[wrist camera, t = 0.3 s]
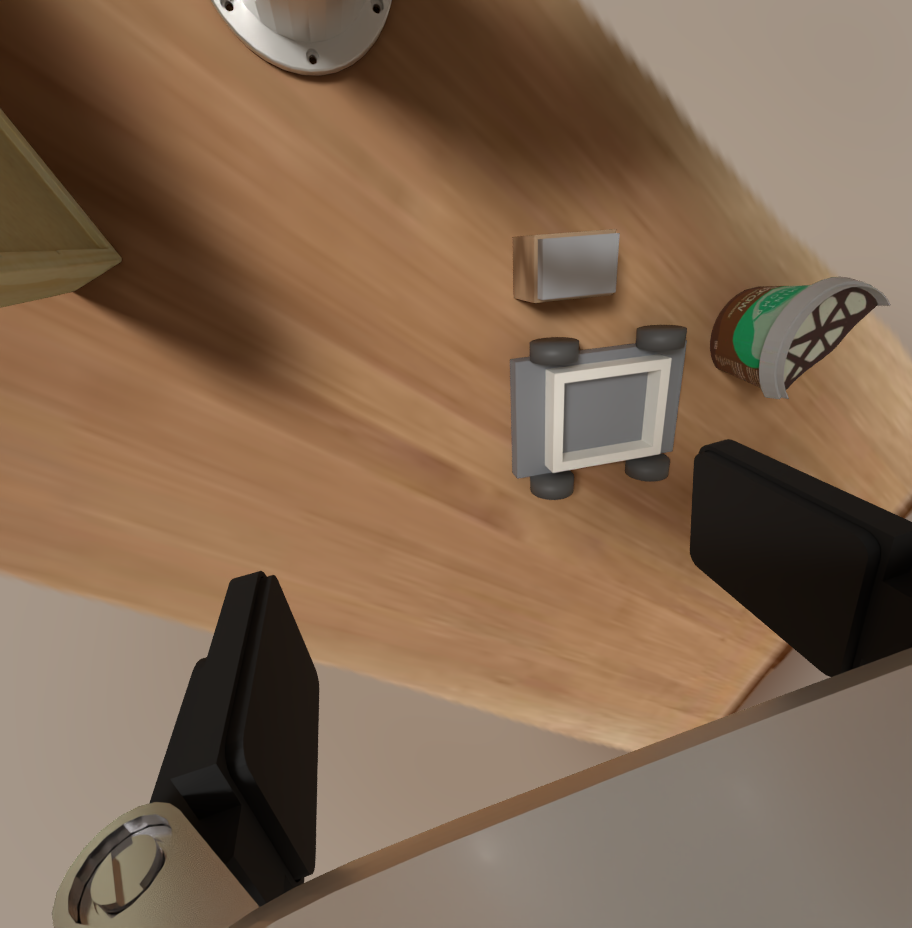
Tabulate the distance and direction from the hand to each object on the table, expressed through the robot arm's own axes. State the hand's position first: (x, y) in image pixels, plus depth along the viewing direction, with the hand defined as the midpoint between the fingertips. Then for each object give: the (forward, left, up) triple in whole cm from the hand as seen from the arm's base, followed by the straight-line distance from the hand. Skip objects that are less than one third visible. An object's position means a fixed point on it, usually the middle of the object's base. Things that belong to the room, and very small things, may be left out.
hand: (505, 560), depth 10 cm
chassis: (+10, +21, -35) cm, 42 cm away
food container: (+2, +37, -35) cm, 52 cm away
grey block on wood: (-4, +16, -35) cm, 39 cm away
